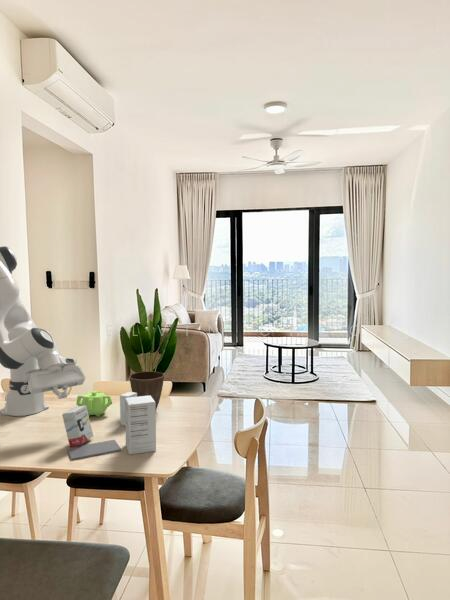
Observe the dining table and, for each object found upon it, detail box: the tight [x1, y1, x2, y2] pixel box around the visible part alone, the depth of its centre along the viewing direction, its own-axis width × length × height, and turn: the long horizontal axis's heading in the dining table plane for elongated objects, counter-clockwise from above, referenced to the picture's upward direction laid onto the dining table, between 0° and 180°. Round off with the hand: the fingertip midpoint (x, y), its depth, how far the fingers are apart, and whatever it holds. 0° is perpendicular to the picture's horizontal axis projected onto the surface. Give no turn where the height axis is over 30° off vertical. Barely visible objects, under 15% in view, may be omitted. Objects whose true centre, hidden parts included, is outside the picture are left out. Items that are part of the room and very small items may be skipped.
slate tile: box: [66, 439, 122, 461], centre depth 142 cm, size 10×16×1 cm, turn 118°
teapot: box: [75, 390, 113, 418], centre depth 179 cm, size 12×12×10 cm
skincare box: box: [119, 391, 137, 426], centre depth 168 cm, size 6×4×12 cm
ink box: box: [61, 405, 94, 448], centre depth 148 cm, size 9×5×12 cm, turn 169°
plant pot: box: [128, 371, 165, 410], centre depth 183 cm, size 15×15×16 cm
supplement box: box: [124, 396, 157, 455], centre depth 144 cm, size 10×9×17 cm
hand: (63, 397), depth 154 cm, fingers closed
